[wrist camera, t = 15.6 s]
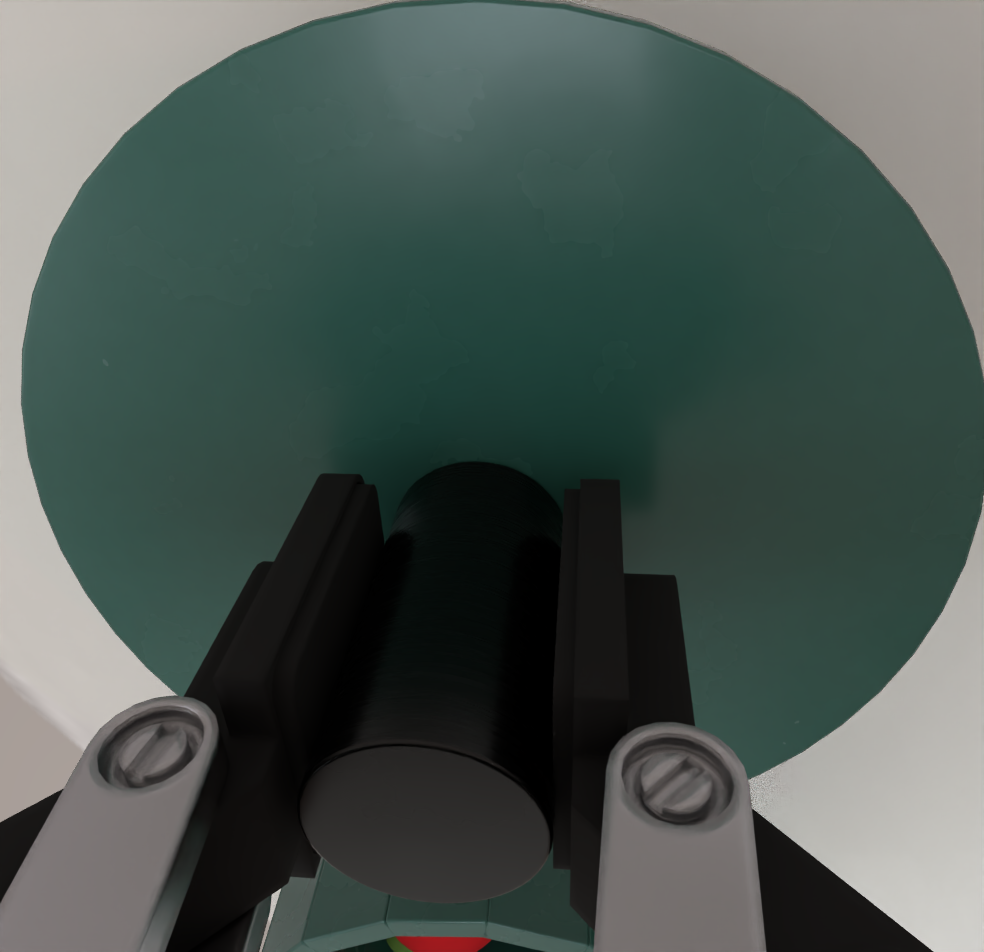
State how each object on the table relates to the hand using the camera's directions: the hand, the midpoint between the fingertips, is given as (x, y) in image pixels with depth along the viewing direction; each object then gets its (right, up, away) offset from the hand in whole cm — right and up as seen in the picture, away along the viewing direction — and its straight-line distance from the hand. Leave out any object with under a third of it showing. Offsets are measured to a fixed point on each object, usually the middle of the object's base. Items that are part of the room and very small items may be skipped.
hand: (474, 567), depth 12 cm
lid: (0, +1, +1) cm, 1 cm away
